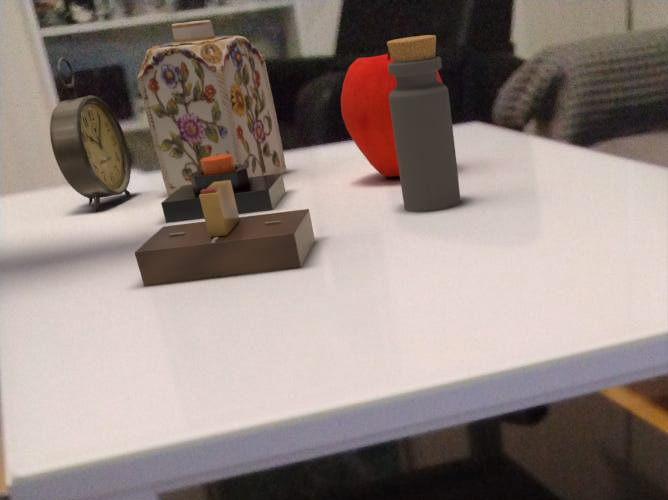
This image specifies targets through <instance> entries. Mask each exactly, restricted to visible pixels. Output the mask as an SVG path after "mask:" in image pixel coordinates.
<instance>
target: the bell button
mask: <svg viewBox="0 0 668 500" xmlns="http://www.w3.org/2000/svg"><path fill="white" fill-rule="evenodd" d="M200 161H201V165H202V169H203V174H204V175H208V174H218V173H224V172H229V171H232V170H235V169H236V168H235V164H234V160H233V155H231V154H222V155H214V156H209V157H205V158H202V159H201V160H200Z"/></svg>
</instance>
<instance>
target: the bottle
mask: <svg viewBox="0 0 668 500" xmlns="http://www.w3.org/2000/svg"><path fill="white" fill-rule="evenodd" d="M386 46H387V49H388V48H389V51H390V55H391V58H392V61H393V62H391V63H389V64H388V69H389V74H390V75H392V76H395V77H396V83H397V86H396V88H394V89H393V90H392V91H391V93H390V94H389V102H390V110H391V117H392V124H393V132H394V139H395V146H396V153H397V160H398V167H399V174H400V176H399V180H400V186H401V188H400V189H401V194H402V200H403V206H404V210H405V211H406V212H409V213H428V212H429V213H430V212H436V211H443V210H448V209H451V208H454V207H456V206H459V205H460V204H461V191H460V182H459V171H458V164H457V155H456V154H457V153H456V146H455V138H454V137H455V136H454V128H453V119H452V111H451V102H450V95H449V89H448V86H447V85H445V84H444V83H443V82H442V83H443V84H442V83H441V82H439V81H438V80H437V71H439V70H440V69H442V67H443V66H442V58H441V56H437V55H436V47H437V36H436V35H435V34H427V35H426V34H425V35H416V36H409V37H402V38H397V39H391V40H388V41H387V42H386Z"/></svg>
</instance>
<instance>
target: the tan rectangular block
mask: <svg viewBox="0 0 668 500" xmlns="http://www.w3.org/2000/svg"><path fill="white" fill-rule="evenodd" d="M200 192H201V194H200V195H199V197H200V201H201V206H202V210H203V214H204V218H203V219H204V222H206V226H207V230H208V234H209V237H219V236H227V235H228V234H229V232H230V231H231V230H232V229H233V228H234V227H235V225H236V224H237V223H238V222H239V221H240V219H239V217H240V214H238V211H237V206H236V202H235V197H234V193H233V189H232V184H231V181H230V180H226V181H218V182H213V183H212V184H211V185H210V186H209V187H208V188H207V189H203V190H201V191H200Z"/></svg>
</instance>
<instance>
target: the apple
mask: <svg viewBox="0 0 668 500" xmlns="http://www.w3.org/2000/svg"><path fill="white" fill-rule="evenodd" d="M391 62H393V61H392V58H391V55H390V51H389V48H388V47H387V53H386V54H382V55H381V54H380V55H375V56H369V57H358V58H356V59H355V61H353V62H352V63H351V64H350V65H349V67H348V68H347V72H346V74H345V77H344V80H343V84H342V89H341V90H342V91H341V94H340V95H341V96H340V108H341V109H340V110H341V117H342V120H343V123H344V125H345V128H346V131H347V132H348V134H349V135H350V138H351V139H352V140H353V142H354V144H355V145H356V148H358V150H359V151H360V153H362V155H363V156H364V158H365V159H366V160H367V161H368V163H369V164H370V166H372V167H373V168H374V170H376V171H377V172H378V173H379V174H380V175H382V176H384V177H385V178H390V177H400V174H399V167H398V160H397V153H396V146H395V139H394V132H393V124H392V117H391V110H390V102H389V94H390V93H391V91H392V90H393V89H394V88H396V86H397V83H396V77H395V76H392V75H390V74H389V69H388V64H389V63H391ZM437 80H438V81H439V82H441V83H442V84H444V83H443V80H442V78H441V76H440V73H439V70H437Z"/></svg>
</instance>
